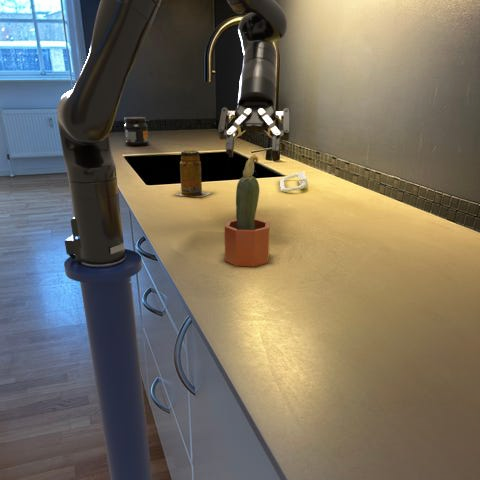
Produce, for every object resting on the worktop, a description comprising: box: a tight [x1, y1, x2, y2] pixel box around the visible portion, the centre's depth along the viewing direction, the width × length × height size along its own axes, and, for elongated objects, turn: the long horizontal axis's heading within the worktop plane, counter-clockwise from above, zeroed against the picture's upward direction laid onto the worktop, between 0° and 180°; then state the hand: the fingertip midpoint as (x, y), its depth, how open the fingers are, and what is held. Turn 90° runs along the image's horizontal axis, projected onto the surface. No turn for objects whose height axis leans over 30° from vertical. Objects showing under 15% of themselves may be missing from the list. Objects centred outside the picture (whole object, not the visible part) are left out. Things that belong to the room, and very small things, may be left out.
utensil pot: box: [224, 218, 271, 268], centre depth 100 cm, size 8×8×7 cm
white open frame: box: [279, 170, 309, 193], centre depth 159 cm, size 20×8×4 cm, turn 177°
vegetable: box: [235, 153, 260, 230], centre depth 97 cm, size 4×4×20 cm
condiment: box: [175, 150, 213, 198], centre depth 148 cm, size 7×8×12 cm
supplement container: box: [123, 116, 150, 148], centre depth 235 cm, size 10×10×12 cm
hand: (252, 155), depth 101 cm, fingers open, 8 cm apart
